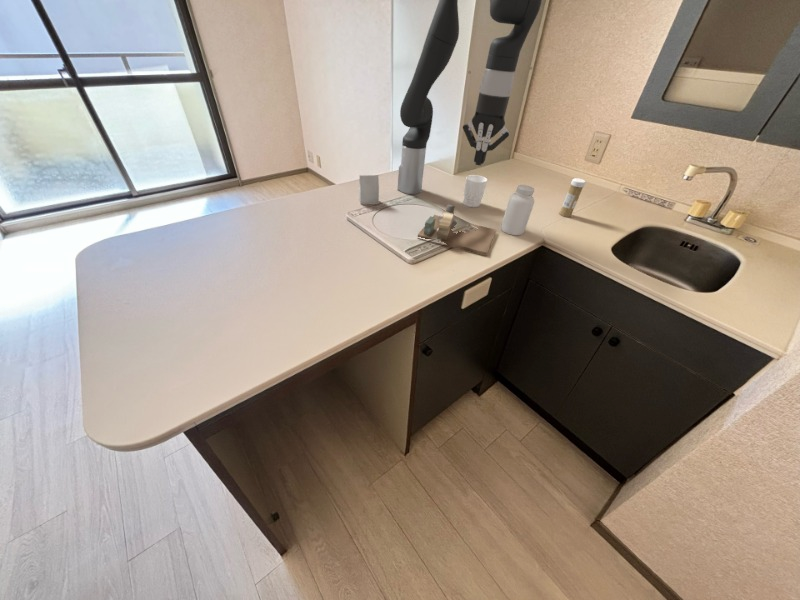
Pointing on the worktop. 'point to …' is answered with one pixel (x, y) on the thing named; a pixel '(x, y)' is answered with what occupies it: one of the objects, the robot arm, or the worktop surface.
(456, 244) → the board
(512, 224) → the pill bottle
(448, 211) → the stool leg
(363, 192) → the grey upright block
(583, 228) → the worktop surface
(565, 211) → the sprinkles bottle
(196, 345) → the worktop surface
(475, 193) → the white cup
